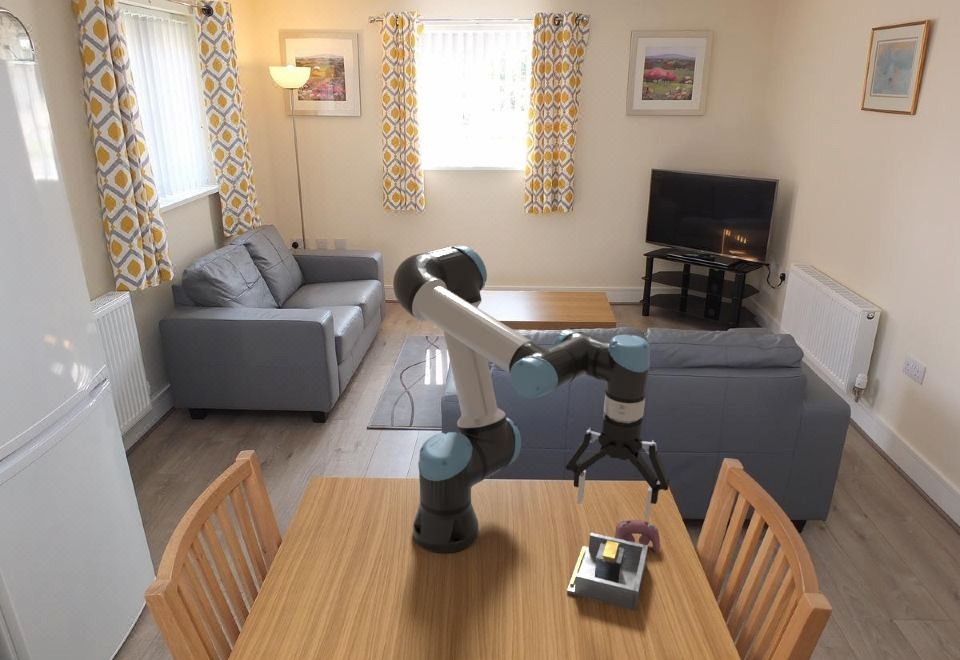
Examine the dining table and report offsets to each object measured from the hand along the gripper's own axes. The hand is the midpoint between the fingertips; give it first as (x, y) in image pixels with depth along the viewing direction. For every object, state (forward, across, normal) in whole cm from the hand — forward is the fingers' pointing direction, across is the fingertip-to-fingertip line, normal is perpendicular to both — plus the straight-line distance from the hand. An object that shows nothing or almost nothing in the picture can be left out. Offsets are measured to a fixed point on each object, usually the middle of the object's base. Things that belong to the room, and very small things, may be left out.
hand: (613, 507), depth 140 cm
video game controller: (+18, +5, +12) cm, 22 cm away
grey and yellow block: (+17, 0, -1) cm, 17 cm away
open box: (+18, 0, 0) cm, 18 cm away
